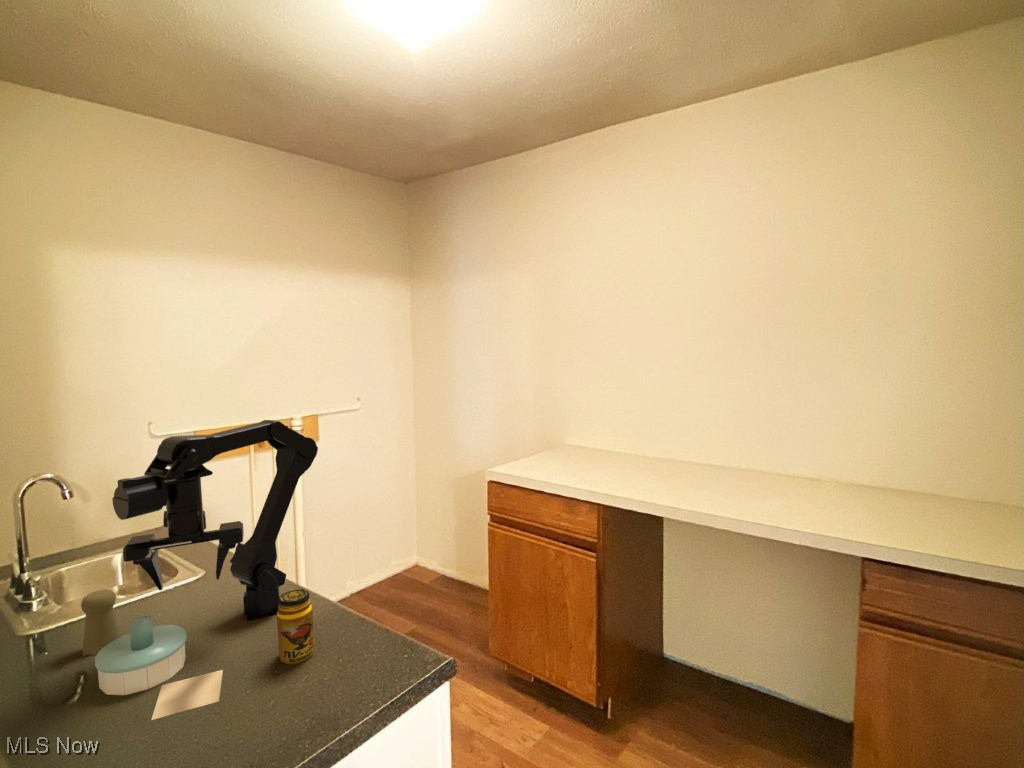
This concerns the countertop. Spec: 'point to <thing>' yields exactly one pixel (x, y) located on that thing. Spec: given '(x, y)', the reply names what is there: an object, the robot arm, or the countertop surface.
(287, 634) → the condiment
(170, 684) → the plate
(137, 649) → the lid
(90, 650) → the pepper shaker
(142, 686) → the bowl
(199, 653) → the countertop surface
